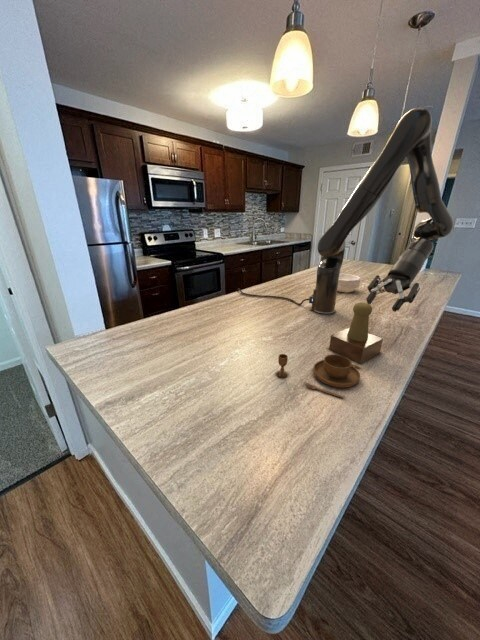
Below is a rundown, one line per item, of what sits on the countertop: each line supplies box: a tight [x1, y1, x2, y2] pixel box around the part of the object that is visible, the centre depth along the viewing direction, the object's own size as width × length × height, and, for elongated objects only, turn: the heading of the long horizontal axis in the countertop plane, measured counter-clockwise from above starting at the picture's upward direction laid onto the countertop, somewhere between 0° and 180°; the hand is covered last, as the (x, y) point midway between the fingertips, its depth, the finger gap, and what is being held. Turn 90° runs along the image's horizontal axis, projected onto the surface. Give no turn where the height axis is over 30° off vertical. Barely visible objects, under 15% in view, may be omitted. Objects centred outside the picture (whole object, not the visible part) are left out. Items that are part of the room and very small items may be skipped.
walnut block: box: [328, 327, 384, 364], centre depth 83 cm, size 11×11×5 cm
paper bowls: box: [337, 273, 361, 293], centre depth 147 cm, size 15×15×8 cm
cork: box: [347, 302, 373, 341], centre depth 80 cm, size 6×6×11 cm
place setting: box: [276, 353, 361, 399], centre depth 72 cm, size 18×20×6 cm
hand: (380, 306), depth 85 cm, fingers open, 8 cm apart
